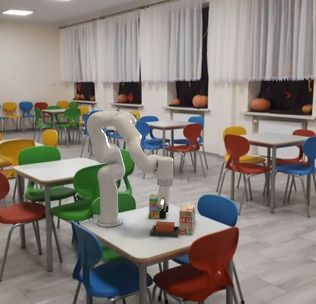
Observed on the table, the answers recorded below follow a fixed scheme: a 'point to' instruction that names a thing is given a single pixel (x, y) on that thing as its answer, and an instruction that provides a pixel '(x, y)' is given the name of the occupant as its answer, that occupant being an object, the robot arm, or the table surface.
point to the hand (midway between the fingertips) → (163, 215)
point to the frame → (164, 234)
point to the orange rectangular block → (164, 226)
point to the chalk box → (154, 207)
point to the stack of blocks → (186, 219)
